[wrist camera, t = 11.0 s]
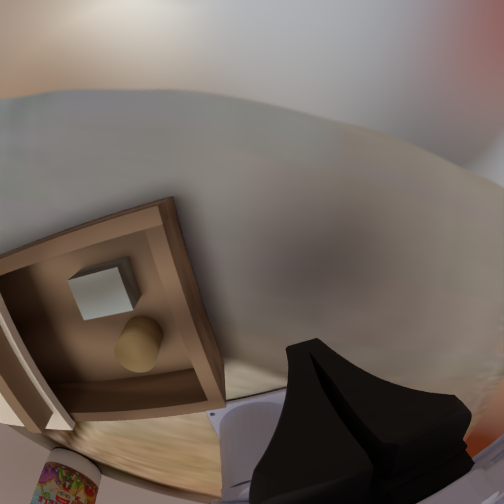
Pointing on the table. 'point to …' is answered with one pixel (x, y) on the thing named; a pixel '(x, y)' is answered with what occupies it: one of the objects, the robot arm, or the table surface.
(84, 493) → the milk bottle
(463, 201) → the table surface
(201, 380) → the storage box
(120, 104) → the table surface
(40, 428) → the lid
